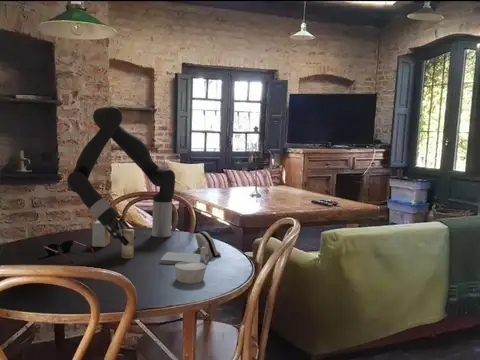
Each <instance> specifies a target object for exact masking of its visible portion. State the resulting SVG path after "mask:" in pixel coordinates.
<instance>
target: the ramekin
mask: <svg viewBox="0 0 480 360" xmlns="http://www.w3.org/2000/svg"><path fill="white" fill-rule="evenodd" d="M206 269H207V265H205V264H203V263H199V262H180V263H177V264H174V272H175V278H176V280H177V281H178V282H179V283H181V284H199V283H202V281H204V279H205V274H206V273H205V272H206Z"/></svg>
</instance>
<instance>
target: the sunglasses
mask: <svg viewBox="0 0 480 360" xmlns="http://www.w3.org/2000/svg"><path fill="white" fill-rule="evenodd" d="M74 243H75V244H78V245H82V246H83V247H84V246H85V247H86V248H89V249H90V250H91V252H92V254H93V257H94V259H95V258H96V257H97V256H96V254H95V252H94V249H93V248H92V247H91V246H88V245H87V244H83V243H80V242H77V241H75V240H74V239H68V240H67V239H66V240H65V241H62V242H61V243H59V244H58V243H56V242H54V243H53V242H51V243H48V244H45V245H44V246H43V247H44V248H45V250H44V251H45V252H46V255H47V256H51V255H56V254H60V255H62V256H64V257H65V258H66V259H68V260H69V262H70V263H71V264H74V263H75V262H74V261H73V260H72V259H70V258H69V257H68V256H67V255H66V254H64V253H65V252H70V251H71V249H72V247H73V244H74ZM59 248H60V250H61V252H59V251H58V250H59ZM62 252H63V253H62Z"/></svg>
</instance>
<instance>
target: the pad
mask: <svg viewBox="0 0 480 360" xmlns="http://www.w3.org/2000/svg"><path fill="white" fill-rule="evenodd" d="M208 247H209V243H208V242H204V247H201V249H200V252H199V253H188V252H176V251H175V252H172V251H167V252H165V253H164V254H163V256H161V258H160V259H159V264H163V265H164V264H165V265H166V264H167V265H175V264H177V263H180V262H199V263H203V264H205V265H206V266H207V265H208V263H209V261H210V255H208Z"/></svg>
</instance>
